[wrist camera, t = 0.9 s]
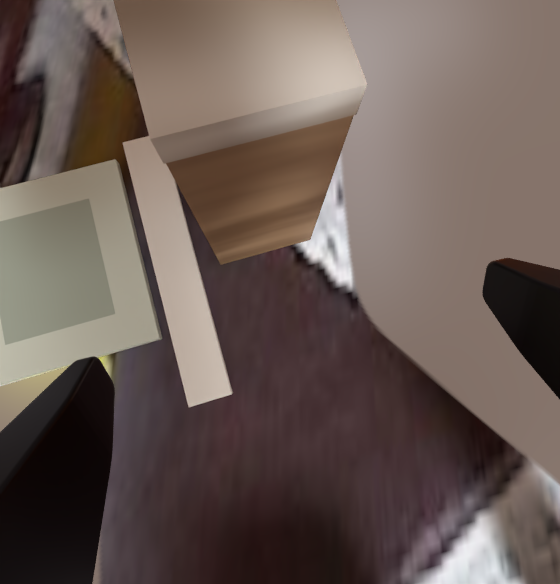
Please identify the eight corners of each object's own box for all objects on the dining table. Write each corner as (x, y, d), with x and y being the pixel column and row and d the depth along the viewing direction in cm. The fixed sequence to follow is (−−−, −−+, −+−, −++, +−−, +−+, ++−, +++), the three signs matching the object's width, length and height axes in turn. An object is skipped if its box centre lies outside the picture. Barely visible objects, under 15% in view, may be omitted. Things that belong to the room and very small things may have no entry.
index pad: (162, 339, 21) (159, 338, 21) (-18, 391, 20) (-27, 392, 20) (119, 164, 23) (115, 158, 22) (-49, 207, 22) (-58, 202, 22)
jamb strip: (232, 393, 21) (232, 394, 20) (190, 406, 21) (188, 407, 20) (164, 137, 23) (161, 132, 23) (125, 147, 23) (122, 142, 23)
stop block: (311, 240, 22) (367, 84, 10) (220, 265, 22) (150, 139, 9) (284, 156, 23) (302, -91, 10) (196, 179, 23) (101, -49, 10)
